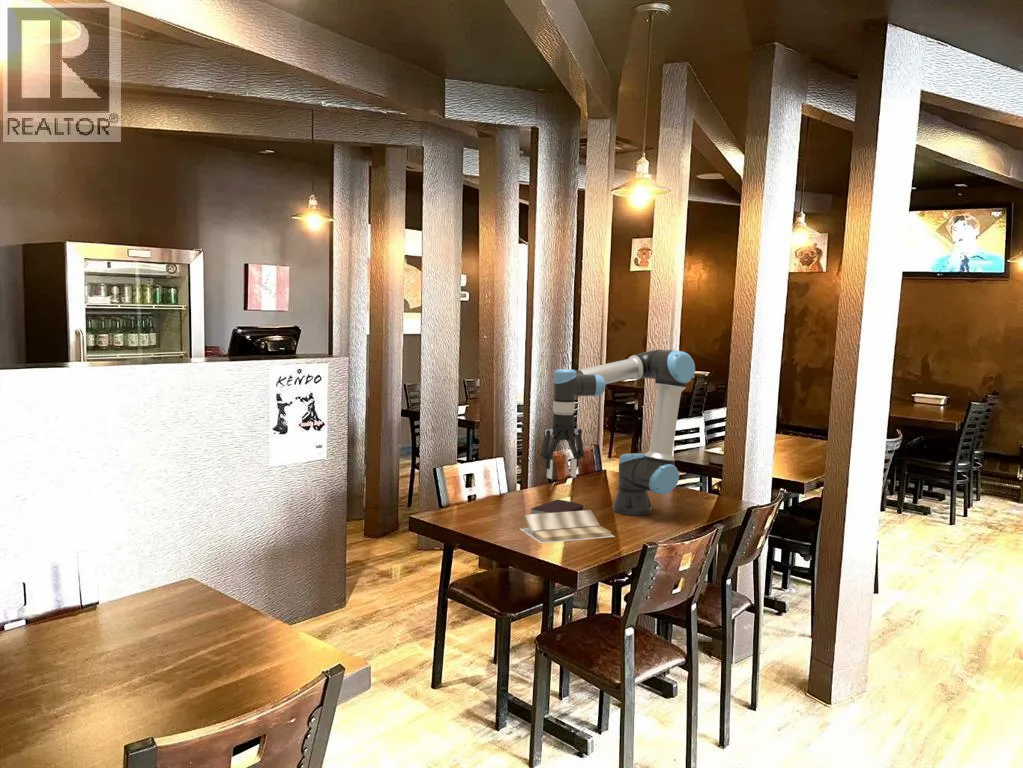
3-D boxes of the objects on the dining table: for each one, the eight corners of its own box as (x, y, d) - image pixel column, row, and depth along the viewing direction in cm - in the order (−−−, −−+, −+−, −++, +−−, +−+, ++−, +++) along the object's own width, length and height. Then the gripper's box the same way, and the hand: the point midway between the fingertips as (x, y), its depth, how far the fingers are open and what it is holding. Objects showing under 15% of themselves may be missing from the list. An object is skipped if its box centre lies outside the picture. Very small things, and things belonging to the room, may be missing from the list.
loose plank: (589, 513, 273) (590, 509, 272) (598, 528, 266) (599, 525, 266) (523, 518, 263) (524, 514, 262) (531, 534, 256) (532, 530, 256)
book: (583, 512, 297) (583, 503, 297) (557, 521, 281) (557, 512, 281) (556, 507, 304) (556, 499, 304) (529, 515, 288) (530, 507, 288)
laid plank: (600, 530, 265) (600, 526, 265) (611, 536, 258) (611, 531, 258) (533, 536, 255) (533, 531, 255) (542, 542, 248) (542, 537, 248)
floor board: (589, 525, 274) (590, 523, 274) (614, 539, 258) (615, 536, 258) (519, 531, 264) (519, 528, 264) (540, 546, 247) (540, 543, 247)
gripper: (585, 411, 270) (583, 473, 272) (531, 412, 262) (529, 476, 264) (595, 414, 263) (593, 477, 265) (540, 415, 255) (538, 481, 257)
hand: (561, 477), depth 264 cm, fingers open, 9 cm apart
